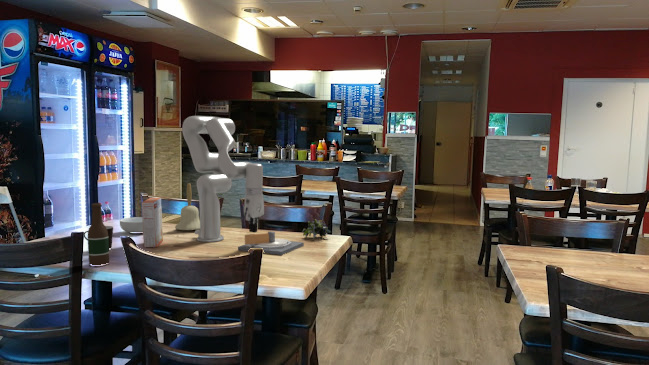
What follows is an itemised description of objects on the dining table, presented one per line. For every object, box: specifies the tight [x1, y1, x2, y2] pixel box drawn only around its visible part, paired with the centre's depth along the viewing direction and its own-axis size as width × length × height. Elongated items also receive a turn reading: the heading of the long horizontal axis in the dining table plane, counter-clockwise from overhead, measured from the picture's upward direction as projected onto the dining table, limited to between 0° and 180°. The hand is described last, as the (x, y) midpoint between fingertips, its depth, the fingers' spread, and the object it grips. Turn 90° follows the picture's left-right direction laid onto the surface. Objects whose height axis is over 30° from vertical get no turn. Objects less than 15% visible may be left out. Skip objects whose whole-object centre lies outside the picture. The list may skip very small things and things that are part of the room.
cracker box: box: [141, 197, 164, 248], centre depth 229 cm, size 14×6×21 cm, turn 6°
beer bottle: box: [87, 202, 110, 265], centre depth 193 cm, size 8×8×24 cm
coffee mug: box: [83, 225, 114, 248], centre depth 218 cm, size 12×9×10 cm
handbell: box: [174, 183, 200, 231], centre depth 263 cm, size 15×15×25 cm
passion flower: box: [301, 219, 332, 240], centre depth 243 cm, size 11×11×12 cm
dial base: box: [237, 239, 305, 256], centre depth 222 cm, size 22×20×2 cm
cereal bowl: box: [119, 216, 143, 233], centre depth 257 cm, size 17×17×7 cm
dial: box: [244, 230, 287, 247], centre depth 221 cm, size 19×14×5 cm
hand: (253, 231), depth 223 cm, fingers closed
